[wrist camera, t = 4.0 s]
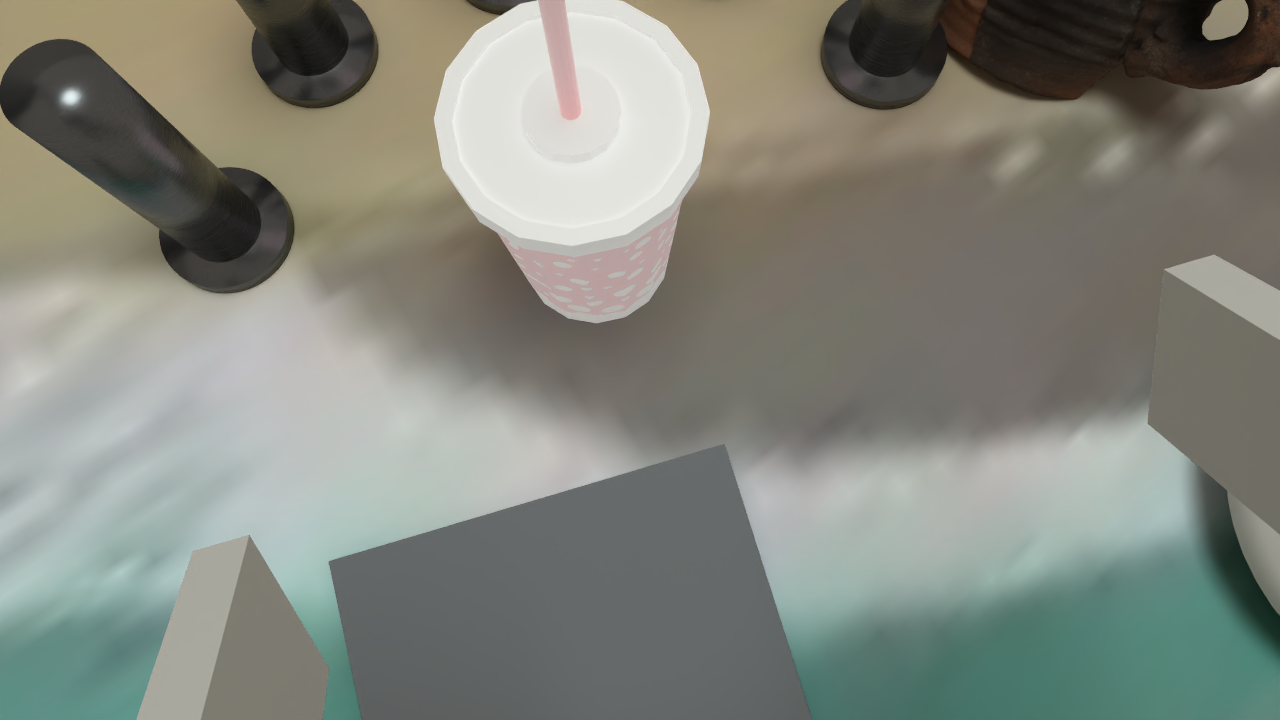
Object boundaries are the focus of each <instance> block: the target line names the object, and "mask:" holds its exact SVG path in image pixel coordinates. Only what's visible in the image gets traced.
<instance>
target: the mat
mask: <svg viewBox="0 0 1280 720" xmlns="http://www.w3.org/2000/svg"><path fill="white" fill-rule="evenodd" d="M329 565H330V570H331V575H332V579H333V584H334V589H335V594H336V598H337V603H338V608H339V613H340V617H341V622H342V627H343V632H344V636H345V641H346V646H347V651H348V655H349V660H350V665H351V670H352V675H353V679H354V684H355V689H356V694H357V698H358V703H359V708H360V713H361V717H362V720H812V718H811V714H810V711H809V708H808V705H807V702H806V699H805V696H804V693H803V689H802V686H801V683H800V680H799V677H798V674H797V671H796V667H795V664H794V661H793V658H792V655H791V652H790V649H789V645H788V642H787V639H786V636H785V633H784V630H783V627H782V623H781V620H780V617H779V614H778V611H777V608H776V605H775V601H774V598H773V595H772V592H771V589H770V586H769V583H768V579H767V576H766V573H765V570H764V567H763V564H762V561H761V557H760V554H759V551H758V548H757V545H756V542H755V539H754V535H753V532H752V529H751V526H750V523H749V520H748V517H747V514H746V510H745V507H744V504H743V501H742V498H741V495H740V492H739V488H738V485H737V482H736V479H735V476H734V473H733V470H732V466H731V463H730V460H729V457H728V454H727V451H726V448H725V444H723V445H720V446H717V447H713V448H710V449H707V450H703V451H700V452H696V453H693V454H690V455H686V456H683V457H680V458H676V459H673V460H669V461H666V462H663V463H659V464H656V465H653V466H649V467H646V468H642V469H639V470H636V471H632V472H629V473H626V474H622V475H619V476H615V477H612V478H609V479H605V480H602V481H599V482H595V483H592V484H588V485H585V486H582V487H578V488H575V489H572V490H568V491H565V492H561V493H558V494H555V495H551V496H548V497H545V498H541V499H538V500H534V501H531V502H528V503H524V504H521V505H518V506H514V507H511V508H507V509H504V510H501V511H497V512H494V513H491V514H487V515H484V516H480V517H477V518H474V519H470V520H467V521H464V522H460V523H457V524H453V525H450V526H447V527H443V528H440V529H437V530H433V531H430V532H426V533H423V534H420V535H416V536H413V537H410V538H406V539H403V540H400V541H396V542H393V543H389V544H386V545H383V546H379V547H376V548H373V549H369V550H366V551H362V552H359V553H356V554H352V555H349V556H346V557H342V558H339V559H335V560H332V561H329Z"/></svg>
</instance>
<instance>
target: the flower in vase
mask: <svg viewBox="0 0 1280 720" xmlns="http://www.w3.org/2000/svg"><path fill="white" fill-rule="evenodd" d="M1227 494H1228V503H1229V508H1230V513H1231V517H1232V522H1233V526H1234V529H1235V532H1236V535H1237V538H1238V541H1239V544H1240V546H1241V549H1242V552H1243V555H1244V557H1245V559H1246V561H1247V563H1248V565H1249V567H1250V569H1251V571H1252V573H1253V576H1254V578H1255V580H1256V582H1257V583H1258V585H1259V586H1260V588H1261V589H1262V591H1263V593H1264V594H1265V596H1266V597H1267V599H1268V601H1269V602H1270V604H1271V605H1272V607H1273V608H1274V609H1275V610H1276V612H1277V613H1278V614H1279V615H1280V535H1279V534H1278V533H1277V532H1276V531H1275V530H1274V529H1272V528H1271V527H1270V526H1269V525H1268V524H1266V523H1265V522H1264V521H1263V520H1262V519H1260V518H1259V517H1258V516H1257V515H1256V514H1255V513H1253V512H1252V511H1251V510H1250V509H1249V508H1247V507H1246V506H1245V505H1244V504H1243V503H1241V502H1240V501H1239V500H1238V499H1237V498H1236V497H1234V496H1233V495H1232V494H1231V493H1230V492H1228V491H1227Z"/></svg>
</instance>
